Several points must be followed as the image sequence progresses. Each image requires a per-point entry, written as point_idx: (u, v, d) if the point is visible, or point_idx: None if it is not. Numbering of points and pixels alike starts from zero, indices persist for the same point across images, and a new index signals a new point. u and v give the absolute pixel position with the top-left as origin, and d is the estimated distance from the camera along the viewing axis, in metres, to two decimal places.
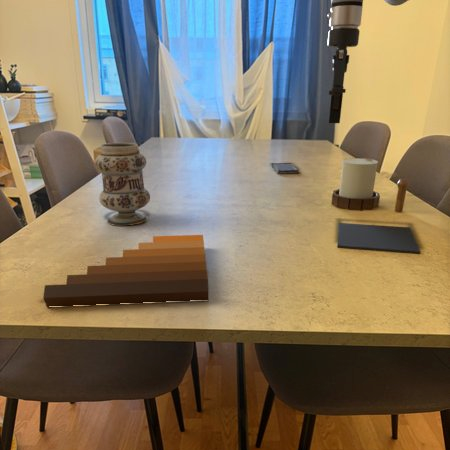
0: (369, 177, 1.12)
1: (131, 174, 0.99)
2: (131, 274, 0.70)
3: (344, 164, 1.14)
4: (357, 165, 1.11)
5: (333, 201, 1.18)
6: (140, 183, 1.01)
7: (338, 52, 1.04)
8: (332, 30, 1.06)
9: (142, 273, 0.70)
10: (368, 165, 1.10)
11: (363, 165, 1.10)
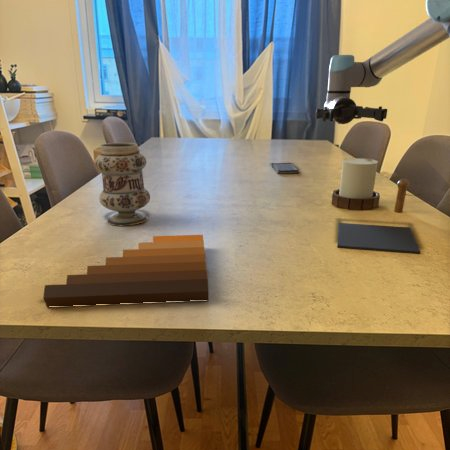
0: (369, 177, 1.12)
1: (131, 174, 0.99)
2: (131, 274, 0.70)
3: (344, 164, 1.14)
4: (357, 165, 1.11)
5: (333, 201, 1.18)
6: (140, 183, 1.01)
7: None
8: None
9: (142, 273, 0.70)
10: (368, 165, 1.10)
11: (363, 165, 1.10)
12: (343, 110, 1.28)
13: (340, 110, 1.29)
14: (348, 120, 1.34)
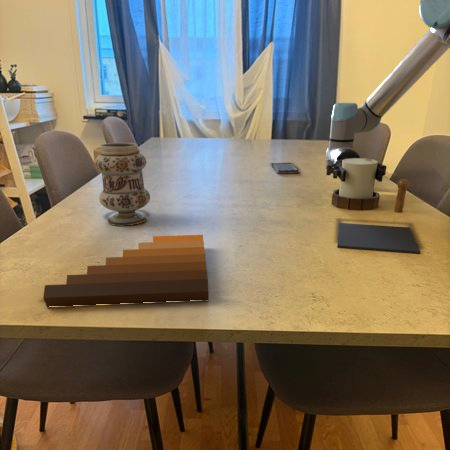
0: (369, 177, 1.12)
1: (131, 174, 0.99)
2: (131, 274, 0.70)
3: (343, 164, 1.14)
4: (357, 165, 1.11)
5: (333, 201, 1.18)
6: (140, 183, 1.01)
7: (326, 167, 1.26)
8: None
9: (142, 273, 0.70)
10: (368, 165, 1.10)
11: (363, 165, 1.10)
12: None
13: None
14: None
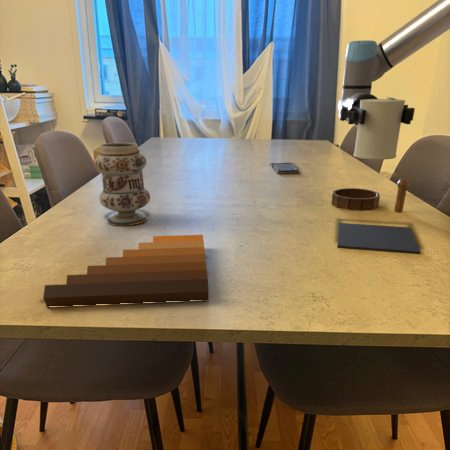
0: (394, 119, 0.90)
1: (131, 174, 0.99)
2: (131, 274, 0.70)
3: (362, 104, 0.92)
4: (379, 103, 0.89)
5: (333, 201, 1.18)
6: (140, 183, 1.01)
7: (339, 114, 1.04)
8: None
9: (142, 273, 0.70)
10: (393, 103, 0.88)
11: (387, 103, 0.88)
12: None
13: None
14: None
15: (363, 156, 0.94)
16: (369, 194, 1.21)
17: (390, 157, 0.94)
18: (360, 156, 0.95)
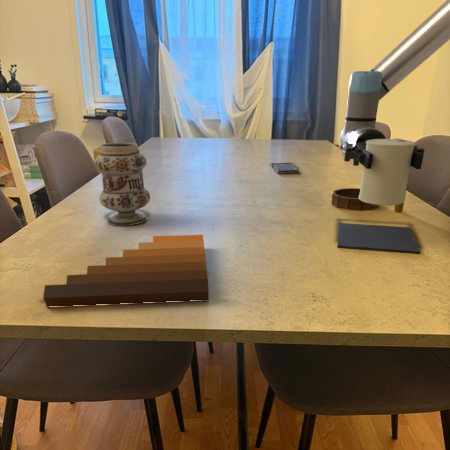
0: (404, 163, 0.83)
1: (131, 174, 0.99)
2: (131, 274, 0.70)
3: (369, 146, 0.85)
4: (388, 146, 0.82)
5: (333, 201, 1.18)
6: (140, 183, 1.01)
7: (342, 152, 0.98)
8: None
9: (142, 273, 0.70)
10: (403, 146, 0.81)
11: (396, 146, 0.81)
12: None
13: None
14: None
15: (369, 201, 0.88)
16: None
17: (398, 202, 0.87)
18: (366, 201, 0.88)
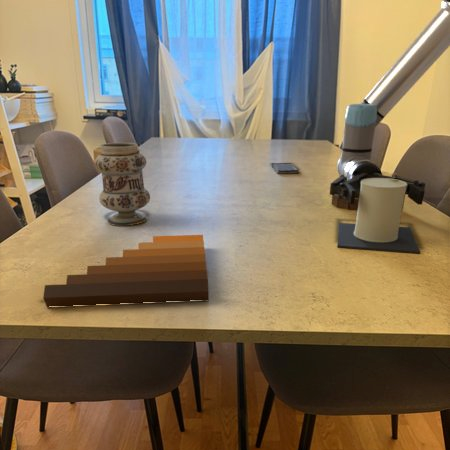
0: (396, 204, 0.87)
1: (131, 174, 0.99)
2: (131, 274, 0.70)
3: (363, 187, 0.88)
4: (381, 188, 0.85)
5: (333, 201, 1.18)
6: (140, 183, 1.01)
7: None
8: None
9: (142, 273, 0.70)
10: (395, 189, 0.85)
11: (389, 189, 0.85)
12: None
13: None
14: None
15: (364, 238, 0.91)
16: None
17: (392, 240, 0.90)
18: (361, 237, 0.92)
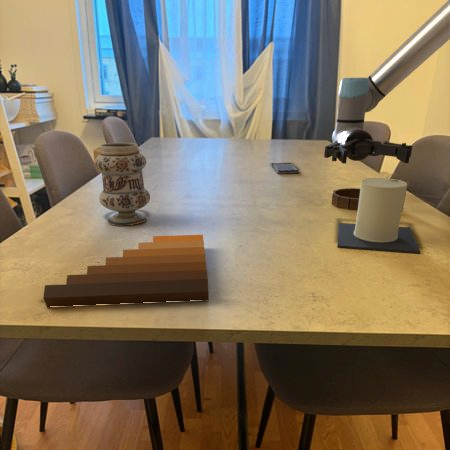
0: (396, 204, 0.87)
1: (131, 174, 0.99)
2: (131, 274, 0.70)
3: (363, 186, 0.88)
4: (381, 188, 0.85)
5: (333, 201, 1.18)
6: (140, 183, 1.01)
7: None
8: None
9: (142, 273, 0.70)
10: (395, 188, 0.85)
11: (389, 188, 0.85)
12: (357, 146, 1.05)
13: (353, 146, 1.06)
14: (363, 156, 1.11)
15: (364, 238, 0.91)
16: None
17: (392, 240, 0.90)
18: (361, 237, 0.92)
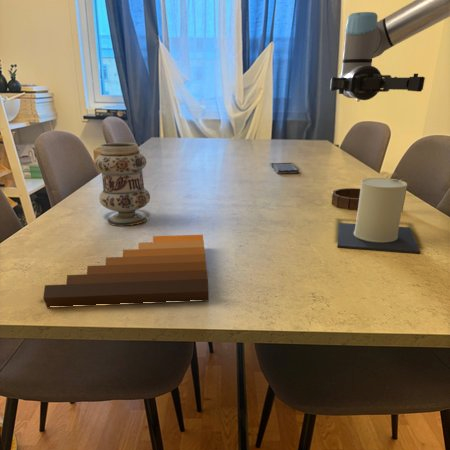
0: (396, 204, 0.87)
1: (131, 174, 0.99)
2: (131, 274, 0.70)
3: (363, 186, 0.88)
4: (381, 188, 0.85)
5: (333, 201, 1.18)
6: (140, 183, 1.01)
7: None
8: None
9: (142, 273, 0.70)
10: (395, 188, 0.85)
11: (389, 189, 0.85)
12: (365, 80, 0.99)
13: (361, 80, 0.99)
14: (371, 95, 1.05)
15: (364, 238, 0.91)
16: None
17: (392, 240, 0.90)
18: (361, 237, 0.92)
